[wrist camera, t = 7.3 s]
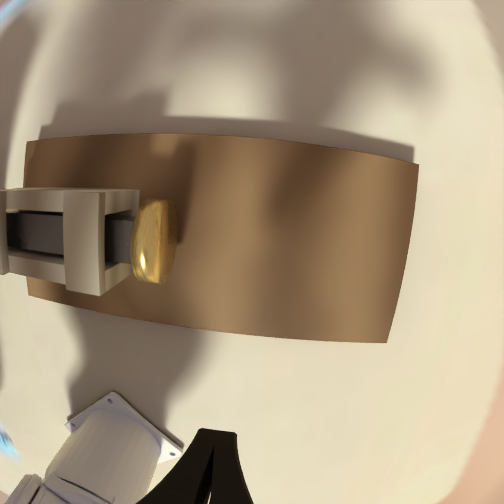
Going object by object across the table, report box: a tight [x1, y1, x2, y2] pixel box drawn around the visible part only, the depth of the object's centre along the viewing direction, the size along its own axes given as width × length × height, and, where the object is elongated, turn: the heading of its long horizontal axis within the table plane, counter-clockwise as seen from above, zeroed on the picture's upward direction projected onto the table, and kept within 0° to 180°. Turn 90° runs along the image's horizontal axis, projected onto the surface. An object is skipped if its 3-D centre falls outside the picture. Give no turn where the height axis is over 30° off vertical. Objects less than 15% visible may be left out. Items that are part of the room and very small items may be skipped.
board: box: [0, 133, 419, 343], centre depth 15 cm, size 25×11×6 cm, turn 85°
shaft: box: [6, 199, 178, 284], centre depth 14 cm, size 12×4×4 cm, turn 84°
